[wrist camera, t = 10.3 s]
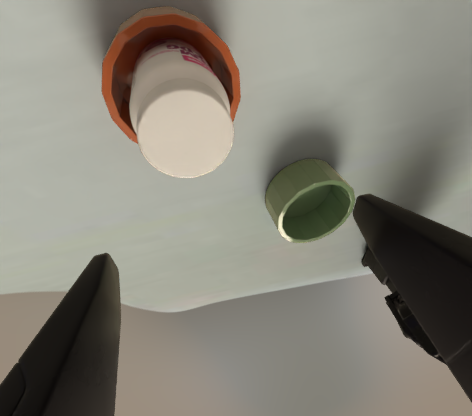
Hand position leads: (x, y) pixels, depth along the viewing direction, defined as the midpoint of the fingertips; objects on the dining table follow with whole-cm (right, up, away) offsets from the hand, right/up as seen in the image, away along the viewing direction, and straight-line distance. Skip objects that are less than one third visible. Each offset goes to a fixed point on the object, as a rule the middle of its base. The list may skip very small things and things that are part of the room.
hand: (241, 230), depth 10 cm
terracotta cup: (-4, +9, +8) cm, 13 cm away
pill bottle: (-4, +9, +8) cm, 13 cm away
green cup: (+6, +2, +17) cm, 18 cm away
